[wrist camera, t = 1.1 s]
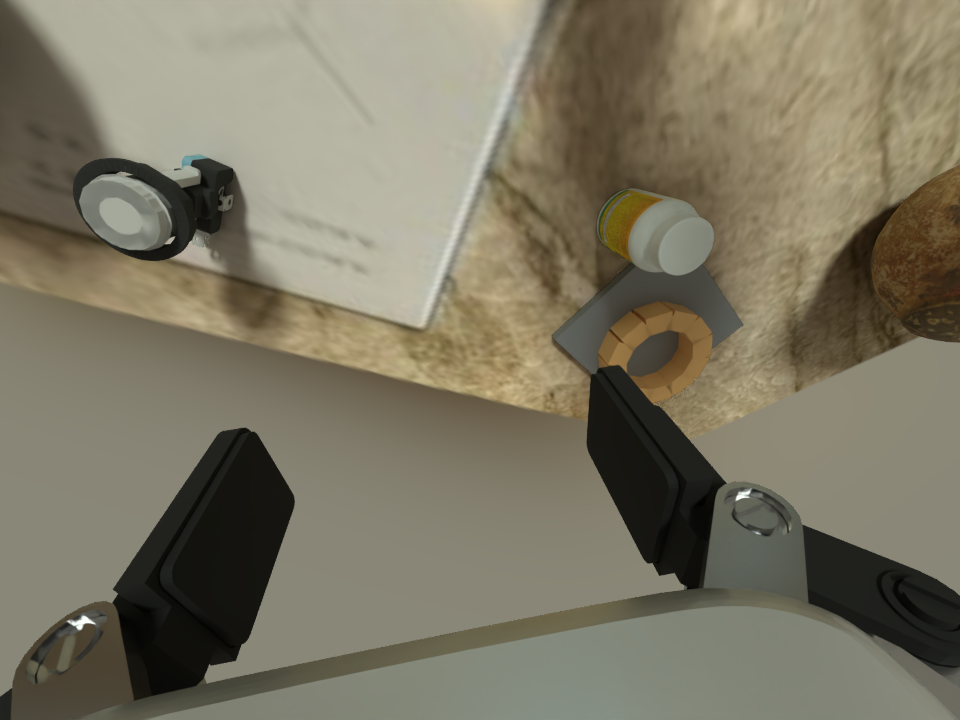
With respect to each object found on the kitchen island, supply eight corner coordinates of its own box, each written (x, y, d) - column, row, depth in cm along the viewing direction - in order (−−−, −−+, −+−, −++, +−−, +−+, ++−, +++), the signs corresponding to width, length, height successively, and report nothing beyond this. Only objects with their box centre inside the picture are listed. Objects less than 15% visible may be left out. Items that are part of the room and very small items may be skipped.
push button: (242, 253, 31) (173, 299, 22) (167, 226, 29) (61, 265, 20) (256, 172, 28) (183, 189, 19) (173, 137, 26) (54, 138, 18)
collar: (665, 280, 36) (680, 289, 34) (713, 343, 41) (729, 355, 39) (578, 355, 39) (587, 367, 37) (632, 405, 44) (643, 419, 42)
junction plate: (672, 225, 34) (678, 228, 33) (736, 320, 41) (743, 324, 40) (551, 335, 39) (554, 339, 38) (627, 404, 45) (631, 410, 44)
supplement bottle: (658, 186, 32) (737, 204, 24) (644, 248, 35) (711, 282, 27) (599, 188, 32) (659, 207, 23) (590, 251, 34) (642, 287, 26)
